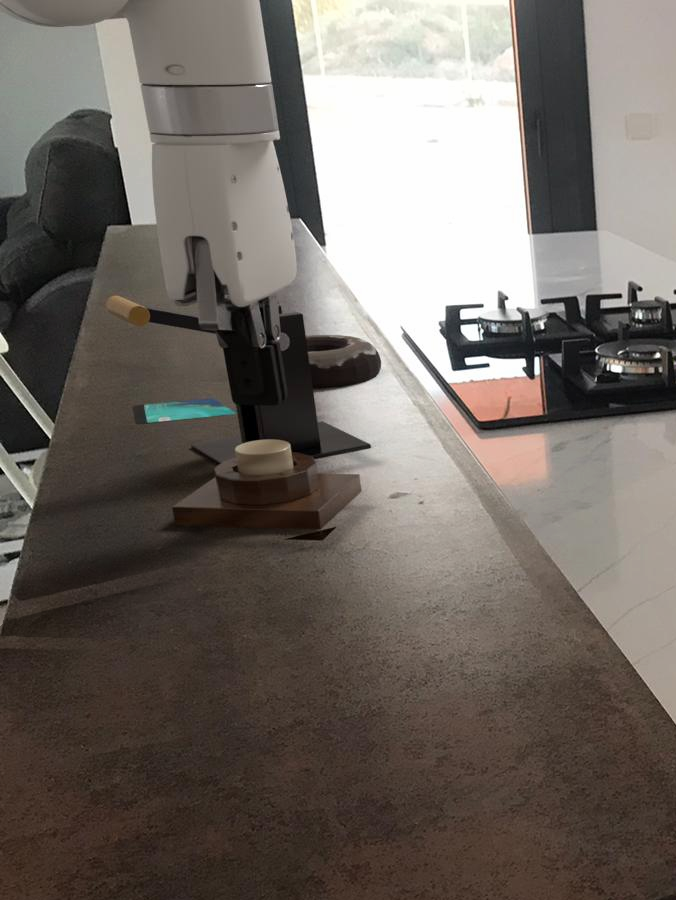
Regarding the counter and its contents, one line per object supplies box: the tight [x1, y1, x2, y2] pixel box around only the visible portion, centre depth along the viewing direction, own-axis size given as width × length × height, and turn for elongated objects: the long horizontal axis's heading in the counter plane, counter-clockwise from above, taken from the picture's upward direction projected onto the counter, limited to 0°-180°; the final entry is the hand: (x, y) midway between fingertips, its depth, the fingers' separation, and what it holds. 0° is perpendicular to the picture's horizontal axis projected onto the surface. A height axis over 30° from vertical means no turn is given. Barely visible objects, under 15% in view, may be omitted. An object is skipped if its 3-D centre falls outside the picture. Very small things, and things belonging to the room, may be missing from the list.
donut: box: [306, 334, 382, 390], centre depth 125 cm, size 12×12×4 cm
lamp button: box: [235, 439, 294, 475], centre depth 89 cm, size 4×4×2 cm
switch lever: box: [105, 295, 216, 335], centre depth 96 cm, size 12×5×2 cm, turn 134°
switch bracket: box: [190, 305, 372, 466], centre depth 101 cm, size 11×9×12 cm
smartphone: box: [132, 398, 237, 425], centre depth 115 cm, size 7×1×15 cm
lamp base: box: [171, 452, 362, 542], centre depth 90 cm, size 10×8×4 cm
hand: (260, 401), depth 87 cm, fingers closed
